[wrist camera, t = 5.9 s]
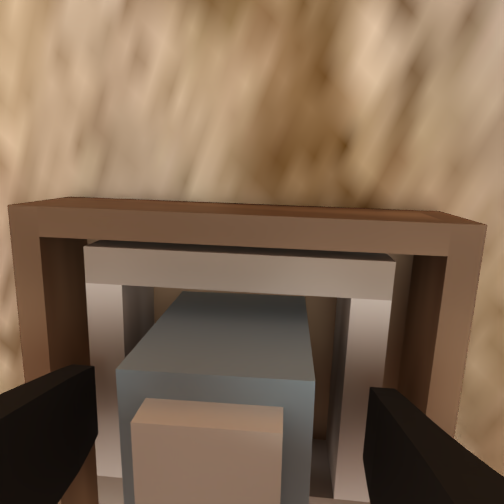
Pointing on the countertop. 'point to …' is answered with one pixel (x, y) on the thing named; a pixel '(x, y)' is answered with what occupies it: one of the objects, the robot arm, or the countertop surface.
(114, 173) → the countertop surface
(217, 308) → the block
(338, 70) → the countertop surface
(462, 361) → the box
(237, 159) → the countertop surface
